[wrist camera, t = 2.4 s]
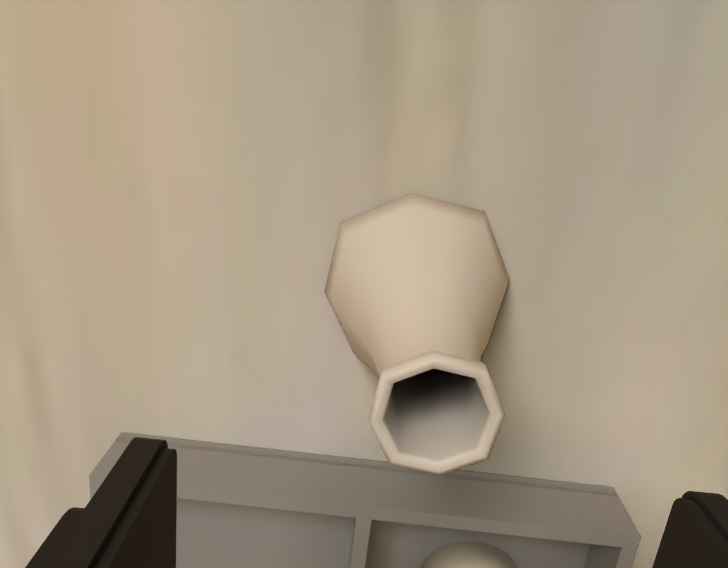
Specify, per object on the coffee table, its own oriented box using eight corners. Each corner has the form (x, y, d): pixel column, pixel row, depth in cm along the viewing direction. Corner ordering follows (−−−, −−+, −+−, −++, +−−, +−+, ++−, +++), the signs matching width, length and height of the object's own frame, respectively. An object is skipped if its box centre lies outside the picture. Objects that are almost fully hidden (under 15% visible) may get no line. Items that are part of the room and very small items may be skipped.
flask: (509, 359, 24) (587, 536, 15) (334, 370, 25) (302, 548, 15) (507, 184, 22) (599, 261, 13) (315, 199, 22) (263, 284, 13)
